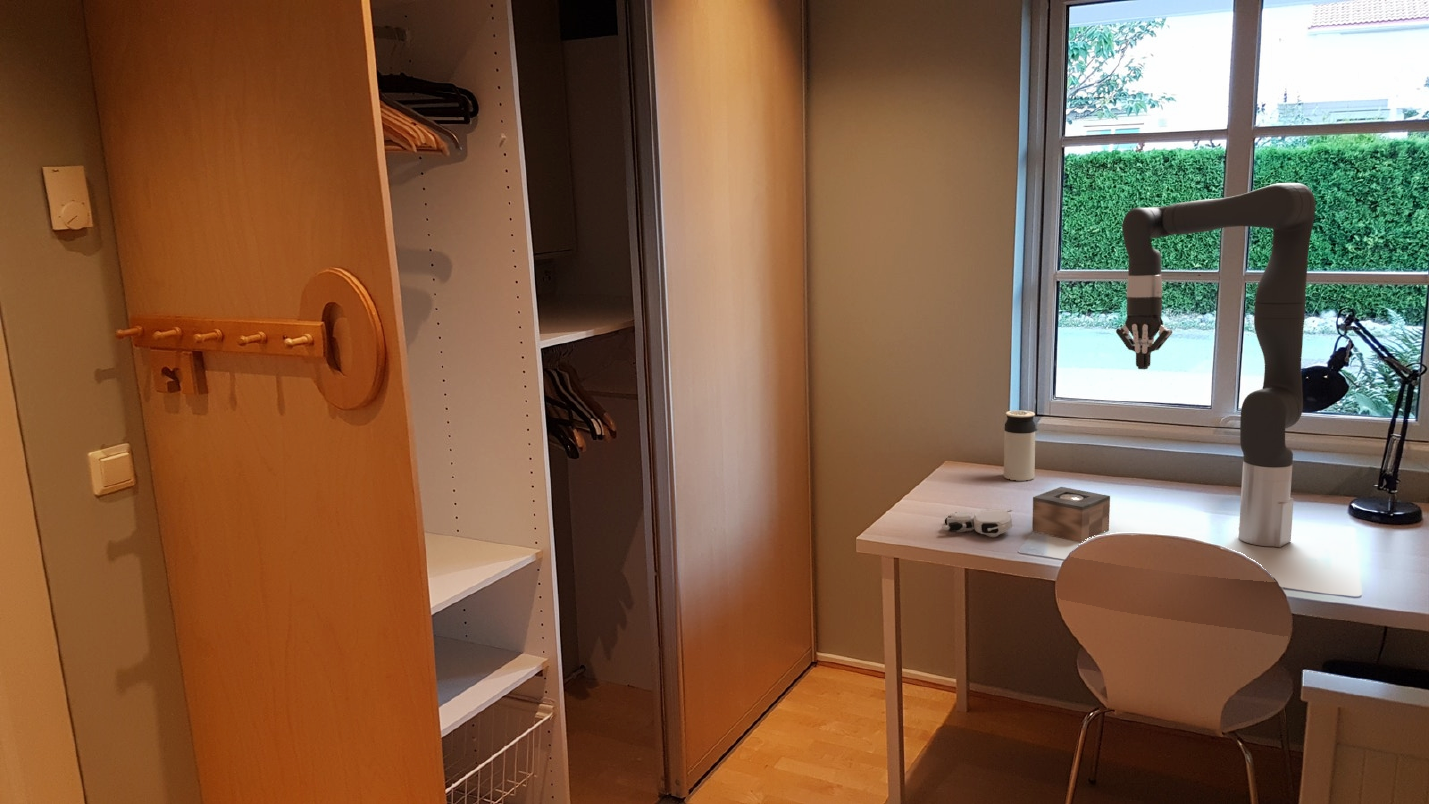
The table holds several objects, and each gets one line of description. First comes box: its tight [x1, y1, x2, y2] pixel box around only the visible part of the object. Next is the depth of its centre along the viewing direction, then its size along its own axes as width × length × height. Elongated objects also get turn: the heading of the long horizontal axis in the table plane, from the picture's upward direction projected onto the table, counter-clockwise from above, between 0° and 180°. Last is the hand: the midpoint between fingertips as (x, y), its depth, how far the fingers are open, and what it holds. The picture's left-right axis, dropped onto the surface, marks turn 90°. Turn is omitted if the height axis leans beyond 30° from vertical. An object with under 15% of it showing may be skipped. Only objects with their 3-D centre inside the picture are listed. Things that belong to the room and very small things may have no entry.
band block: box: [1031, 486, 1111, 543], centre depth 229 cm, size 12×12×8 cm
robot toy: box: [941, 509, 1013, 538], centre depth 231 cm, size 12×4×15 cm
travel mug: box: [1003, 409, 1036, 482], centre depth 275 cm, size 8×8×18 cm
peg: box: [1060, 494, 1083, 502], centre depth 229 cm, size 5×5×8 cm
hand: (1143, 368), depth 238 cm, fingers closed
